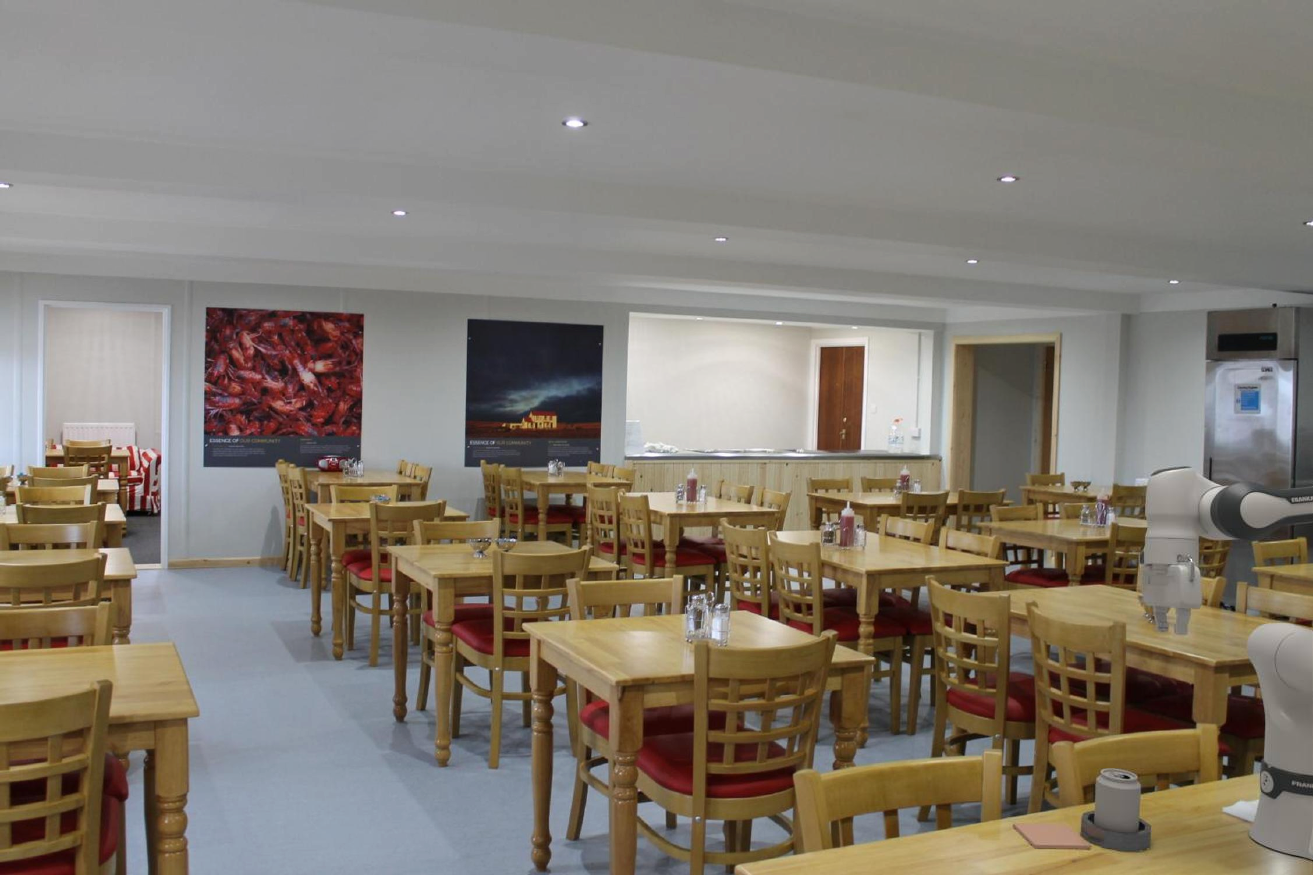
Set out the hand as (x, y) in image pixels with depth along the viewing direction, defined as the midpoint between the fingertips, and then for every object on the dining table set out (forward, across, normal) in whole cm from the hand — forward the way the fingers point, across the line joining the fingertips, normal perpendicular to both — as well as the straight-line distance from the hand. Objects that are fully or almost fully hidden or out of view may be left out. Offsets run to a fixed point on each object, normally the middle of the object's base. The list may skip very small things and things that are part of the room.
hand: (1171, 633), depth 202 cm
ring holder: (+37, +5, +8) cm, 38 cm away
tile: (+38, +3, +20) cm, 43 cm away
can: (+38, +5, +8) cm, 39 cm away
